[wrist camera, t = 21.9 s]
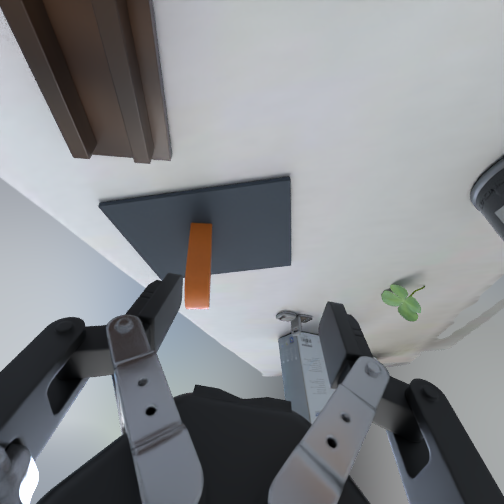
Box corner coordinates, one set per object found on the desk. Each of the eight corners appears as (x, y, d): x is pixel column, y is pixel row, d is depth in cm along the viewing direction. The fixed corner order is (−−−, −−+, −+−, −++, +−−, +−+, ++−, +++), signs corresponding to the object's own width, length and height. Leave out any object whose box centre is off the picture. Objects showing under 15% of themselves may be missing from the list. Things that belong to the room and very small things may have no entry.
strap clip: (274, 315, 56) (276, 334, 53) (283, 310, 54) (285, 330, 51) (304, 320, 60) (307, 339, 57) (313, 316, 57) (316, 335, 55)
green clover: (397, 266, 51) (374, 283, 49) (439, 271, 44) (415, 291, 42) (407, 296, 53) (386, 314, 51) (450, 306, 45) (427, 327, 43)
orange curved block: (190, 222, 29) (182, 293, 24) (212, 223, 30) (208, 294, 25) (193, 252, 34) (187, 317, 29) (211, 253, 35) (208, 317, 29)
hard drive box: (276, 338, 69) (286, 427, 58) (296, 329, 64) (311, 425, 53) (316, 345, 77) (332, 425, 66) (336, 337, 72) (357, 423, 61)
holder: (-68, -165, 11) (-127, -176, 9) (137, -119, 12) (121, -120, 10) (75, 146, 22) (61, 168, 20) (172, 154, 23) (167, 175, 21)
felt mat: (289, 176, 26) (290, 180, 25) (290, 262, 39) (290, 265, 38) (99, 202, 27) (97, 206, 27) (161, 276, 40) (161, 280, 40)
